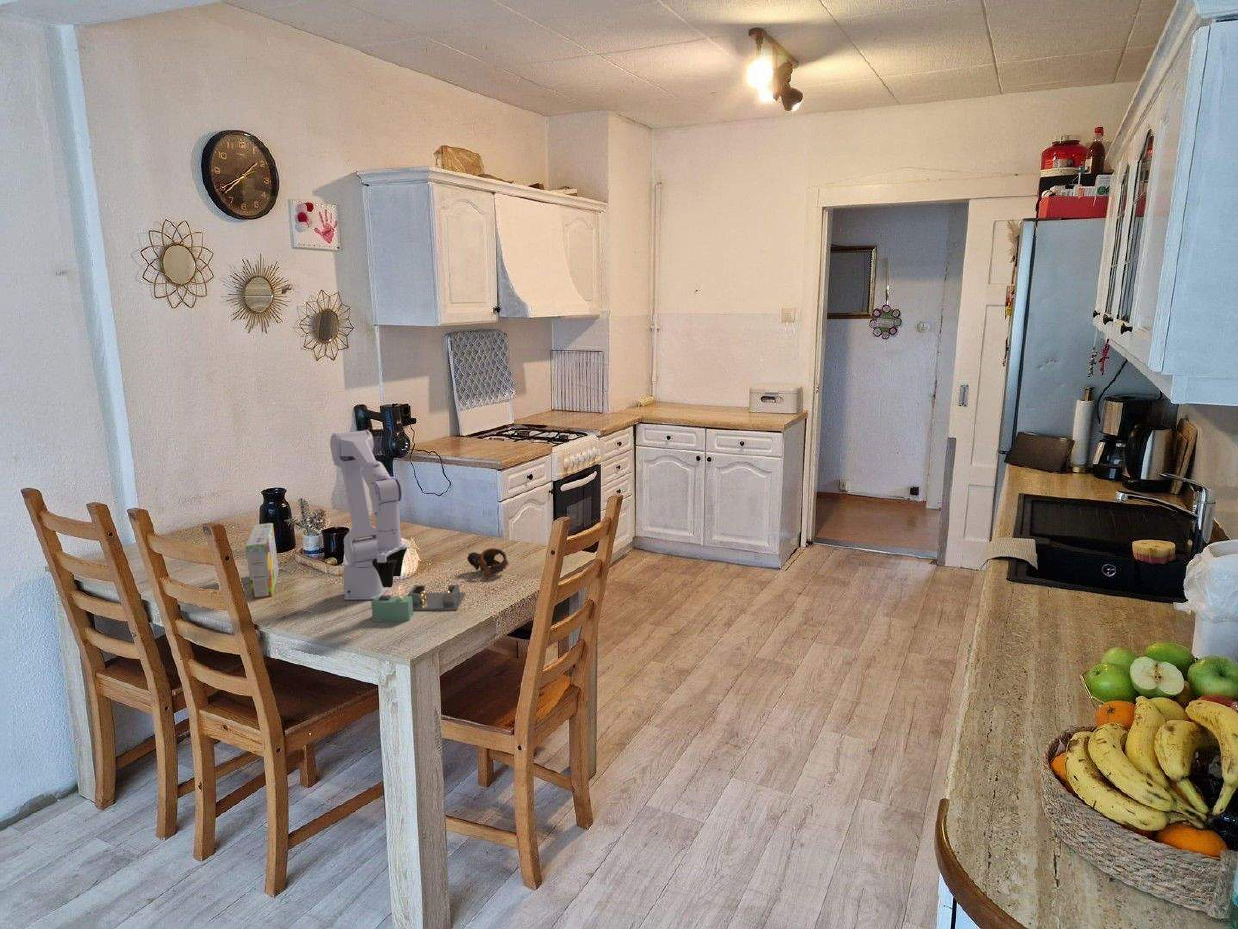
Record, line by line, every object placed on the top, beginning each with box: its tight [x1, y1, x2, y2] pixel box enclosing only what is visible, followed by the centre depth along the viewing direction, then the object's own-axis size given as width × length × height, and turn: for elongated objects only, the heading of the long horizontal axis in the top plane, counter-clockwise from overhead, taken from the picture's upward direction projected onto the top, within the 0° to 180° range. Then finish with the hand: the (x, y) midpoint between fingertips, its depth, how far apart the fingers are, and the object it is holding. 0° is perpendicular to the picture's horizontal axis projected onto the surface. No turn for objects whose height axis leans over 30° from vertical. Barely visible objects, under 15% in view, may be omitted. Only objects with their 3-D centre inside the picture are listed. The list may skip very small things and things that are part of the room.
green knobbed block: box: [371, 594, 414, 622], centre depth 199 cm, size 9×4×6 cm, turn 90°
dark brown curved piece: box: [466, 547, 509, 579], centre depth 231 cm, size 12×10×8 cm
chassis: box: [407, 584, 466, 612], centre depth 209 cm, size 14×11×4 cm
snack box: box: [245, 522, 280, 599], centre depth 223 cm, size 21×6×15 cm, turn 18°
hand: (391, 581), depth 198 cm, fingers open, 7 cm apart
